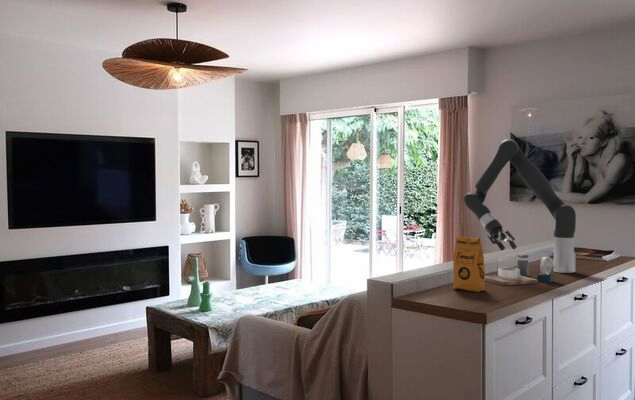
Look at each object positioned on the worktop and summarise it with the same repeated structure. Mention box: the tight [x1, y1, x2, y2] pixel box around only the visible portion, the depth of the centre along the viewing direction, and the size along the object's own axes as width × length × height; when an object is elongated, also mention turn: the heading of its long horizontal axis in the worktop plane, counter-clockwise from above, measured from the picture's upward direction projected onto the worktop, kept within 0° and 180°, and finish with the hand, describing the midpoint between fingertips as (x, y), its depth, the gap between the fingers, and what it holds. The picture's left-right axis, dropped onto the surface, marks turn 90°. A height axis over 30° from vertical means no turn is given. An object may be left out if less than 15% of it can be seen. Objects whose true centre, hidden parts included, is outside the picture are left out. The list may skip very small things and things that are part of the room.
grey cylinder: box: [516, 253, 530, 278], centre depth 272 cm, size 5×5×10 cm
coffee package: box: [452, 236, 486, 293], centre depth 238 cm, size 10×12×22 cm
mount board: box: [485, 274, 538, 286], centre depth 258 cm, size 18×16×2 cm
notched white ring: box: [497, 267, 520, 280], centre depth 258 cm, size 9×9×4 cm
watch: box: [536, 256, 555, 284], centre depth 258 cm, size 6×8×11 cm
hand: (509, 248), depth 279 cm, fingers open, 8 cm apart
